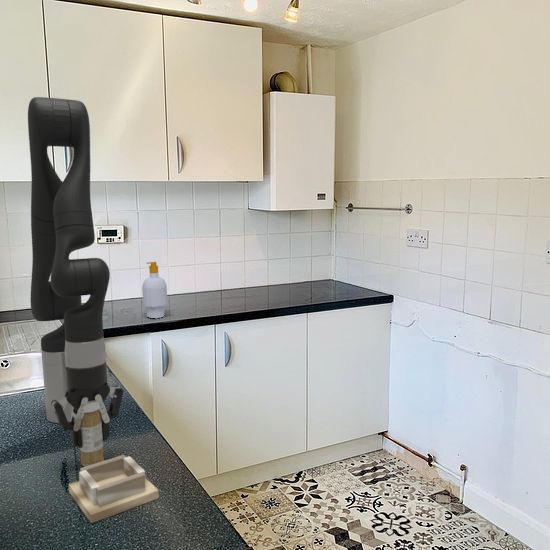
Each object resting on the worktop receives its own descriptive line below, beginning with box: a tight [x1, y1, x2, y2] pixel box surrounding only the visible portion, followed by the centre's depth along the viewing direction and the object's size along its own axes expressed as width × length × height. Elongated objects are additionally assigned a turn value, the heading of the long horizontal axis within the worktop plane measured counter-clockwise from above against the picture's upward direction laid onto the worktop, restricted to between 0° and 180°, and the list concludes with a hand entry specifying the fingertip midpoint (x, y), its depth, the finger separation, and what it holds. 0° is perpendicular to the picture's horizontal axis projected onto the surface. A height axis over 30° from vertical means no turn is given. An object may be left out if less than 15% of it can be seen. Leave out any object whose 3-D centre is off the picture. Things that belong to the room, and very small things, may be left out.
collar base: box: [67, 454, 160, 524], centre depth 97 cm, size 12×12×4 cm
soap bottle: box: [141, 261, 168, 318], centre depth 232 cm, size 10×10×24 cm
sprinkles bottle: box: [79, 400, 105, 467], centre depth 108 cm, size 5×5×13 cm
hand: (91, 442), depth 108 cm, fingers open, 4 cm apart
